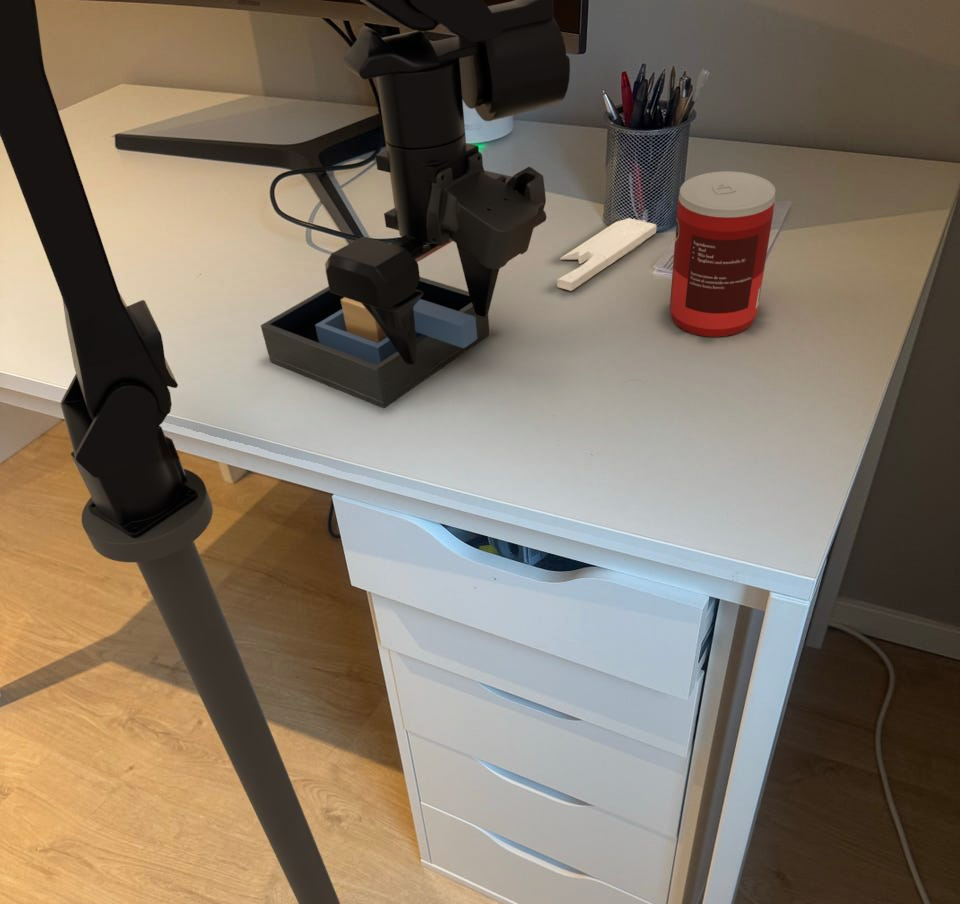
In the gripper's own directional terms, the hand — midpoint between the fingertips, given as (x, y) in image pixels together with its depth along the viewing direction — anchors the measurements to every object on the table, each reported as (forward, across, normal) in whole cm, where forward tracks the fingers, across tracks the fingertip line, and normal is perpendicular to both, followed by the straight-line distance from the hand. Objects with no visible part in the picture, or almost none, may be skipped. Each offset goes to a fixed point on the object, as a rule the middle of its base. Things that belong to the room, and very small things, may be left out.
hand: (447, 338), depth 75 cm
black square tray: (+3, 0, +8) cm, 9 cm away
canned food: (+4, +20, -14) cm, 25 cm away
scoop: (+3, 0, +5) cm, 6 cm away
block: (+2, 0, +8) cm, 9 cm away
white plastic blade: (+3, +25, +2) cm, 25 cm away
